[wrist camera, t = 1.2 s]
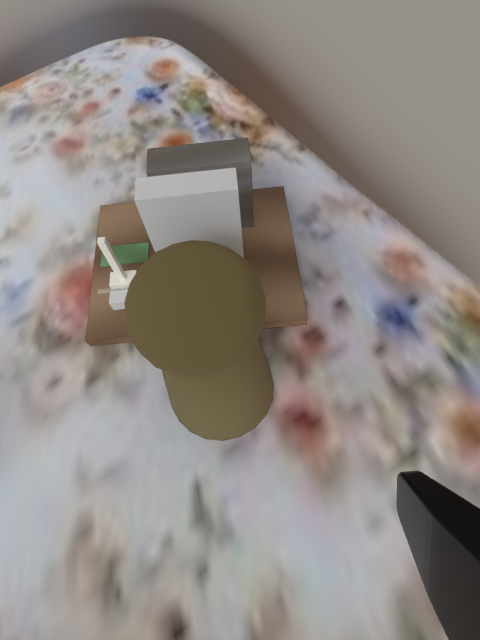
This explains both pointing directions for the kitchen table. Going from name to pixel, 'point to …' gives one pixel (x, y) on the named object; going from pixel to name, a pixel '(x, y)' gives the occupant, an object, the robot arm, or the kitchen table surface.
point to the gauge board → (257, 235)
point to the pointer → (115, 267)
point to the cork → (204, 335)
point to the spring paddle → (188, 212)
